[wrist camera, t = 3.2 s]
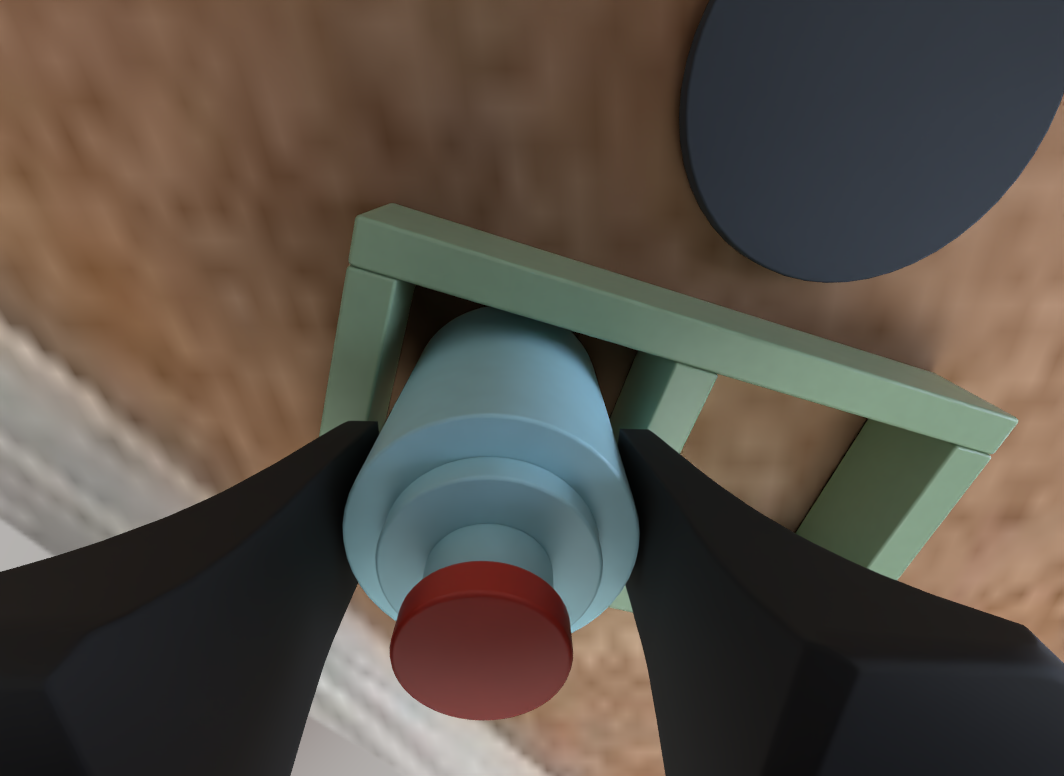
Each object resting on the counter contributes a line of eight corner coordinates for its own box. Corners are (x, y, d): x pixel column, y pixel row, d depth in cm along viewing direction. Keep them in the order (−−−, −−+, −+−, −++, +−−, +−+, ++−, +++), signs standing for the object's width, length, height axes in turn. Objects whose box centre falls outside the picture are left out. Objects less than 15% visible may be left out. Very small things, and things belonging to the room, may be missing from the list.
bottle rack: (389, 201, 12) (354, 213, 10) (934, 372, 14) (1022, 420, 12) (338, 475, 16) (300, 538, 13) (791, 586, 17) (837, 660, 15)
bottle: (623, 335, 14) (741, 563, 6) (562, 487, 16) (596, 803, 8) (437, 280, 13) (312, 456, 6) (398, 445, 15) (266, 745, 8)
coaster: (1141, -53, 11) (1174, -64, 10) (912, 316, 14) (928, 322, 13) (785, -216, 10) (801, -239, 9) (625, 221, 13) (630, 225, 12)
